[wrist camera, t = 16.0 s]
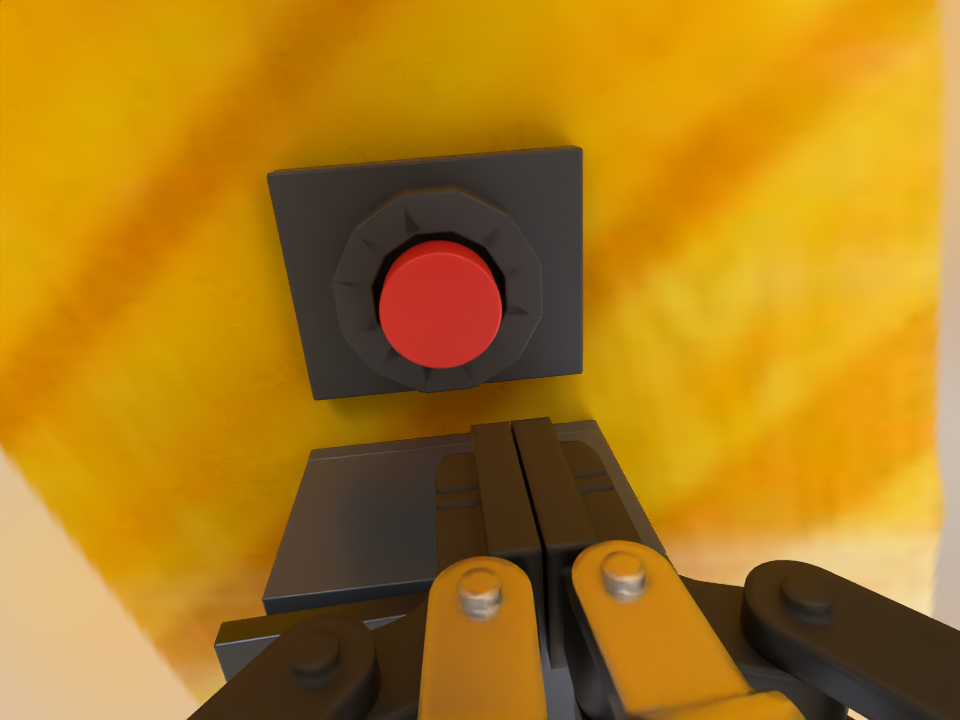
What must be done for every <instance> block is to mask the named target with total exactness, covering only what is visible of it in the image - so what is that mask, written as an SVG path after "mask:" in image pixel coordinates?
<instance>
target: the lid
mask: <svg viewBox="0 0 960 720" xmlns="http://www.w3.org/2000/svg"><path fill="white" fill-rule="evenodd" d="M662 556H663V557H664V558H665V559H666V560H667V561H668V562H669V563H670V564H671V566H672V567H673V568H674V566H673V565H672V563H671V561H670V560H669V558H668V556H667V555H662ZM674 570H675V568H674ZM675 572H676V573H677V571H676V570H675ZM677 574H678V573H677ZM429 593H430V591H424V592H418V593H411V594H405V595H398V596H392V597H385V598H379V599H372V600H366V601H359V602H352V603H346V604H339V605H333V606H326V607H320V608H313V609H307V610H300V611H294V612H287V613H281V614H274V615H268V616H261V617H255V618H248V619H241V620H235V621H228V622H223V623H222V624H221V626H220V629H219V632H218V635H217V638H216V641H215V644H214V648H215V651H216V654H217V656H218V659H219V662H220V665H221V668H222V670H223V673H224V676H225V679H226V682H227V683H228V682H229V681H230V680H231V679H232V678H233V677H234V676H235V675H236V674H238V673H239V672H240V671H241V670H242V669H243V668H244V667H245V666H246V665H247V664H249V663H250V662H251V661H252V660H253V659H254V658H255V657H256V656H257V655H259V654H260V653H261V652H262V651H263V650H264V649H265V648H266V647H267V646H268V645H270V644H271V643H272V642H273V641H274V640H275V639H276V638H277V637H278V636H280V635H281V634H282V633H283V632H285V631H286V630H287V629H288V628H290V627H292V626H293V625H295V624H296V623H299V622H301V621H303V620H305V619H307V618H310V617H313V616H317V615H322V614H330V613H338V614H345V615H350V616H352V617H355V618H357V619H359V620H360V621H361V622H363V623H364V624H365V625H366V626H367V627H368V628H369V630H370V631H371V630H373V629H376V628H378V627H381V626H383V625H386V624H388V623H391V622H393V621H395V620H397V619H400V618H402V617H404V616H405V615H407V614H409V613H410V612H412V611H413V610H414V609H416V608H417V607H418V606H419V605H420V604H421V603H422V602H423V601H424V600H425V599H426V598H427V597H428V595H429ZM546 658H547V670H544V671H542V674H543V682H544V691H545V699H546V708H547V716H548V720H575V715H574V688H573V684H572V680H571V676H570V672H569V669H568V667H565V668H558V669H551V666H550V661H549V657H548V652H547V647H546Z"/></svg>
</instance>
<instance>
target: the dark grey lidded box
mask: <svg viewBox="0 0 960 720" xmlns="http://www.w3.org/2000/svg"><path fill="white" fill-rule="evenodd" d="M552 425H553V428H554V430H555V433H556V435H557V438H558V440H559V442H562V441H571V440H581V441H582V442H584V443H585V444H586V445H588V446H589V447H590V448H592V449H593V450H594V451H596V452H597V453H598V454H599V456H600V458H601V460H602V462H603V464H604V466H605V468H606V470H607V475H608V474H609V476H610V478H611V480H612V482H613V484H614V489H616V490H617V492H618V494H619V496H620V498H621V500H622V502H623V504H624V507H625V509H626V511H627V513H628V515H629V517H630V519H631V521H632V523H633V525H634V527H635V529H636V531H637V533H638V535H639V537H640V539H641V541H642V543H643V545H644V546H647V547H649V548H651V549H653V550H655V551H656V552H658V553H659V554H661V555H666V551H665V549H664V547H663V546H662V544H661V542H660V540H659V538H658V536H657V534H656V533H655V531H654V529H653V527H652V525H651V523H650V521H649V519H648V518H647V516H646V514H645V512H644V510H643V508H642V506H641V505H640V503H639V501H638V499H637V497H636V495H635V493H634V492H633V490H632V488H631V486H630V484H629V482H628V480H627V479H626V477H625V475H624V473H623V471H622V469H621V467H620V466H619V464H618V462H617V460H616V458H615V456H614V454H613V452H612V451H611V449H610V447H609V445H608V443H607V441H606V439H605V438H604V436H603V434H602V432H601V430H600V428H599V426H598V424H597V423H596V421H595V420H589V421H580V422H570V423H561V424H552ZM464 452H473V447H472V436H471V433H466V434H457V435H448V436H438V437H429V438H419V439H410V440H400V441H391V442H381V443H372V444H362V445H353V446H344V447H334V448H325V449H315V450H311V453H310V456H309V459H308V463H307V466H306V469H305V472H304V475H303V478H302V481H301V484H300V487H299V490H298V493H297V496H296V499H295V502H294V505H293V508H292V511H291V514H290V517H289V520H288V522H287V525H286V528H285V531H284V534H283V537H282V540H281V543H280V546H279V549H278V552H277V555H276V558H275V561H274V564H273V567H272V570H271V573H270V576H269V579H268V582H267V585H266V588H265V591H264V594H263V597H262V602H263V605H264V608H265V612H266V615H267V616H268V615H274V614H281V613H287V612H294V611H300V610H307V609H313V608H320V607H326V606H333V605H339V604H346V603H352V602H359V601H366V600H372V599H379V598H385V597H392V596H398V595H405V594H411V593H418V592H424V591H430V589H431V587H432V584H433V582H434V581H435V579H436V578H437V543H436V497H435V494H436V492H435V471H436V469H437V468H438V466H439V465H440V463H441V461H442V460H443V458H444V457H445V455H446V454H455V453H464Z"/></svg>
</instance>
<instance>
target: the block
mask: <svg viewBox="0 0 960 720" xmlns="http://www.w3.org/2000/svg"><path fill="white" fill-rule="evenodd" d="M267 181H268V185H269V190H270V195H271V200H272V204H273V209H274V214H275V219H276V223H277V228H278V233H279V237H280V242H281V247H282V252H283V256H284V261H285V266H286V271H287V275H288V280H289V285H290V290H291V294H292V299H293V304H294V308H295V313H296V318H297V323H298V327H299V332H300V337H301V342H302V346H303V351H304V356H305V361H306V365H307V370H308V375H309V379H310V384H311V389H312V394H313V398H314V400H326V399H336V398H346V397H355V396H365V395H375V394H385V393H395V392H405V391H414V390H417V391H420V392H425V393H431V392H441V391H451V390H461V389H470V388H474V387H478V386H479V385H481V384H483V383H493V382H503V381H513V380H522V379H532V378H542V377H552V376H562V375H572V374H581V373H582V371H583V150H582V148H580V147H576V146H573V145H572V146H560V147H548V148H536V149H523V150H511V151H499V152H487V153H475V154H463V155H451V156H439V157H427V158H415V159H403V160H390V161H378V162H366V163H354V164H342V165H330V166H318V167H306V168H294V169H282V170H275V171H273V172H271V173H269V174H267ZM433 240H446V241H452V242H456V243H459V244H462V245H464V246H466V247H468V248H470V249H471V250H473V251H474V252H475V253H477V254H478V255H479V256H480V257H481V258H482V259H483V260H484V261H485V263H486V264H487V265H488V267H489V269H490V271H491V273H492V275H493V277H494V280H495V283H496V285H497V288H498V290H499V293H500V297H501V302H502V318H501V323H500V327H499V330H498V332H497V334H496V336H495V338H494V340H493V341H492V343H491V344H490V345H489V347H488V348H487V349H486V350H485V351H484V352H483V353H482V354H480V355H479V356H478V357H476V358H475V359H473V360H471V361H470V362H468V363H465V364H463V365H460V366H456V367H452V368H441V369H439V368H429V367H424V366H421V365H418V364H416V363H414V362H411V361H409V360H408V359H406V358H405V357H403V356H402V355H401V354H400V353H398V352H397V351H396V350H395V349H394V348H393V347H392V345H391V344H390V343H389V341H388V340H387V338H386V336H385V334H384V332H383V329H382V326H381V322H380V316H379V303H380V298H381V294H382V289H383V285H384V281H385V278H386V275H387V273H388V271H389V269H390V267H391V266H392V264H393V263H394V261H395V260H396V259H397V258H398V257H399V256H400V255H401V254H402V253H404V252H405V251H406V250H408V249H409V248H411V247H413V246H415V245H417V244H420V243H423V242H427V241H433Z"/></svg>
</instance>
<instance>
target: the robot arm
mask: <svg viewBox="0 0 960 720" xmlns="http://www.w3.org/2000/svg"><path fill="white" fill-rule="evenodd" d="M471 436H472V447H473V452H464V453H455V454H446V455H445V457H444V458H443V460H442V461H441V463H440V465H439V466H438V468H437V469H436V471H435V492H436V494H435V497H436V543H437V578H436V579H435V581H434V582H433V584H432V587H431V589H430V593H429V595H428V597H427V598H426V599H425V600H424V601H423V602H422V603H421V604H420V605H419V606H418V607H417V608H416V609H414V610H413V611H412V612H410V613H409V614H407V615H405V616H404V617H402V618H400V619H397V620H395V621H393V622H391V623H388V624H386V625H383V626H381V627H378V628H376V629H373V630H371V631H370V630H369V628H368V627H367V626H366V625H365V624H364V623H363V622H361V621H360V620H359V619H357V618H355V617H352V616H350V615H345V614H338V613H330V614H322V615H317V616H313V617H310V618H307V619H305V620H303V621H301V622H299V623H296V624H295V625H293V626H292V627H290V628H288V629H287V630H286V631H285V632H283V633H282V634H281V635H280V636H278V637H277V638H276V639H275V640H274V641H273V642H272V643H271V644H270V645H268V646H267V647H266V648H265V649H264V650H263V651H262V652H261V653H260V654H259V655H257V656H256V657H255V658H254V659H253V660H252V661H251V662H250V663H249V664H247V665H246V666H245V667H244V668H243V669H242V670H241V671H240V672H239V673H238V674H236V675H235V676H234V677H233V678H232V679H231V680H230V681H229V682H228V683H226V684H225V685H224V686H223V687H222V688H221V689H220V690H219V691H218V692H217V693H215V694H214V695H213V696H212V697H211V698H210V699H209V700H208V701H207V702H205V703H204V704H203V705H202V706H201V707H200V708H199V709H198V710H197V711H196V712H194V713H193V714H192V715H191V716H190V717H189V718H188V719H187V720H548V716H547V708H546V699H545V691H544V682H543V674H542V671H544V670H547V658H546V647H547V652H548V657H549V661H550V666H551V669H558V668H565V667H568V669H569V672H570V676H571V680H572V684H573V688H574V715H575V720H855V719H853V718H851V717H850V716H848V715H847V713H848V710H849V708H850V709H852V710H854V711H855V712H857V713H859V714H860V715H862V716H864V717H865V718H867V719H869V720H960V631H959V630H956V629H955V628H952V627H950V626H948V625H946V624H943V623H941V622H939V621H937V620H935V619H933V618H930V617H928V616H926V615H924V614H922V613H919V612H917V611H915V610H913V609H911V608H908V607H906V606H904V605H902V604H900V603H897V602H895V601H893V600H891V599H889V598H887V597H884V596H882V595H880V594H878V593H876V592H873V591H871V590H869V589H867V588H865V587H862V586H860V585H858V584H856V583H854V582H851V581H849V580H847V579H845V578H843V577H840V576H838V575H836V574H834V573H832V572H830V571H827V570H825V569H822V568H820V567H818V566H815V565H811V564H808V563H804V562H799V561H791V560H776V561H770V562H766V563H763V564H760V565H759V566H757V567H755V568H754V569H753V570H752V571H751V572H750V573H749V574H748V576H747V577H746V581H745V585H744V587H740V586H732V585H725V584H717V583H710V582H703V581H698V580H693V579H690V578H687V577H684V576H681V575H679V574H677V573H676V572H675V570H674V568H673V567H672V566H671V564H670V563H669V562H668V561H667V560H666V559H665V558H664V557H663V556H662V555H661V554H659V553H658V552H656V551H655V550H653V549H651V548H649V547H647V546H644V545H643V543H642V541H641V539H640V537H639V535H638V533H637V531H636V529H635V527H634V525H633V523H632V521H631V519H630V517H629V515H628V513H627V511H626V509H625V507H624V504H623V502H622V500H621V498H620V496H619V494H618V492H617V490H616V489H614V484H613V482H612V480H611V478H610V476H609V474H608V475H607V470H606V468H605V466H604V464H603V462H602V460H601V458H600V456H599V454H598V453H597V452H596V451H594V450H593V449H592V448H590V447H589V446H588V445H586V444H585V443H584V442H582V441H581V440H571V441H562V442H559V440H558V438H557V435H556V433H555V430H554V428H553V425H552V423H551V420H550V418H549V417H544V418H534V419H525V420H516V421H511V425H509V422H499V423H490V424H480V425H471Z"/></svg>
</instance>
